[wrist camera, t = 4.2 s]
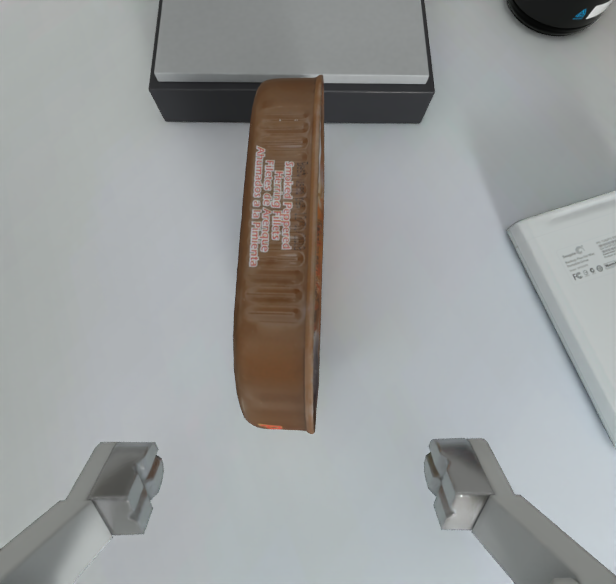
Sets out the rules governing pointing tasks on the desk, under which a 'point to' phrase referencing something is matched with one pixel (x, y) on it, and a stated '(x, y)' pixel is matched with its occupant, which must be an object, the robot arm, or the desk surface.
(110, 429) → the desk surface
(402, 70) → the scale
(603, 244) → the hard drive
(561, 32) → the supplement container
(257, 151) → the tin
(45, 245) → the desk surface
